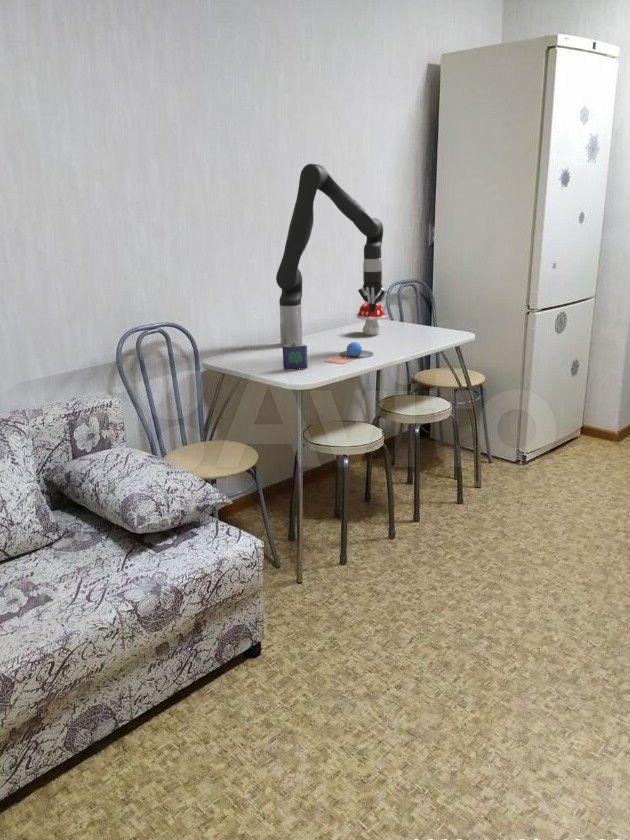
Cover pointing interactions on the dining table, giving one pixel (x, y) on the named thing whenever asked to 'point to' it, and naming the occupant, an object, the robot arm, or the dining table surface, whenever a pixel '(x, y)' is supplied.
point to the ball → (354, 349)
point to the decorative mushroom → (371, 318)
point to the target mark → (362, 355)
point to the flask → (295, 356)
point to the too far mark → (339, 360)
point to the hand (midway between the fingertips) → (372, 312)
